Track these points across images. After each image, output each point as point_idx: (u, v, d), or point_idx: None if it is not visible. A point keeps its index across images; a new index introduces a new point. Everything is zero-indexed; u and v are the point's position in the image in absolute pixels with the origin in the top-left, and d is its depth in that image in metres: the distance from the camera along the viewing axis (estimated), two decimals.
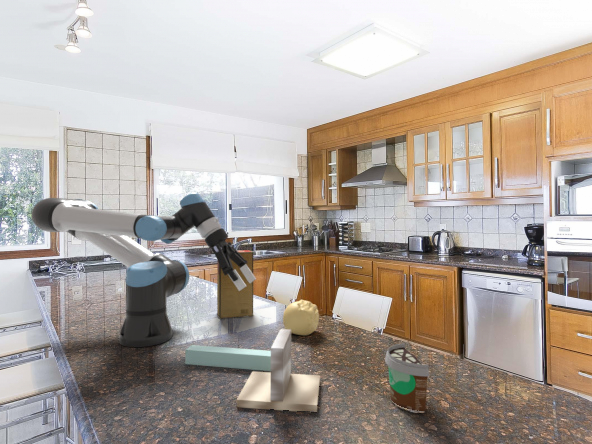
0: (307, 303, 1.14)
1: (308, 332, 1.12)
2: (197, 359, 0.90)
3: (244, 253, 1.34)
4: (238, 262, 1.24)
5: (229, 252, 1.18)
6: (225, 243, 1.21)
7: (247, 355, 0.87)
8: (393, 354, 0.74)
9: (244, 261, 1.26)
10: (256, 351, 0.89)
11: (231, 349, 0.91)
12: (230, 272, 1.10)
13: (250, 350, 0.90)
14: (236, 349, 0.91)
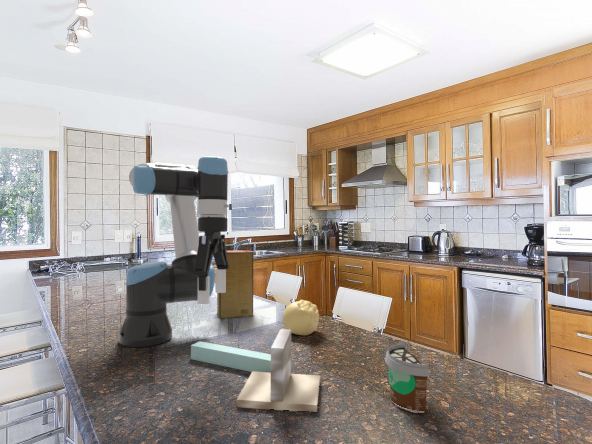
0: (307, 303, 1.14)
1: (308, 332, 1.12)
2: (200, 355, 0.92)
3: (244, 253, 1.34)
4: (218, 262, 0.97)
5: (216, 249, 0.91)
6: (218, 235, 0.93)
7: (244, 357, 0.87)
8: (393, 354, 0.74)
9: (226, 265, 0.99)
10: (254, 353, 0.88)
11: (232, 349, 0.91)
12: (201, 278, 0.83)
13: (249, 352, 0.89)
14: (236, 349, 0.91)
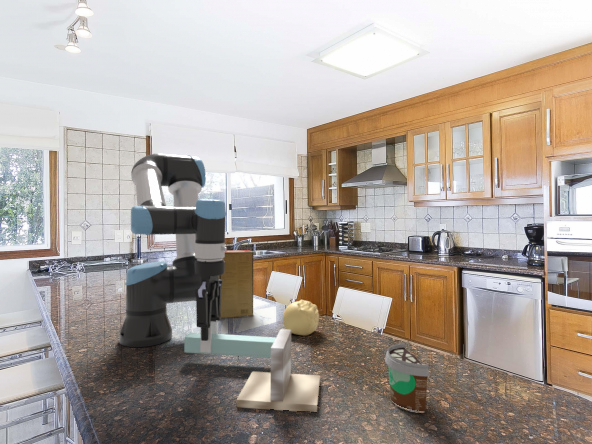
0: (307, 303, 1.14)
1: (308, 332, 1.12)
2: (196, 346, 0.90)
3: (244, 253, 1.34)
4: (211, 311, 0.93)
5: None
6: None
7: (247, 342, 0.88)
8: (393, 354, 0.74)
9: None
10: (256, 338, 0.90)
11: (230, 336, 0.91)
12: (204, 329, 0.87)
13: (249, 337, 0.90)
14: (235, 336, 0.91)
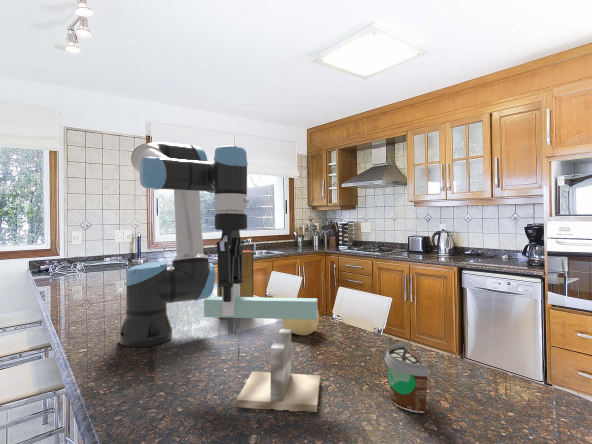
0: None
1: (308, 332, 1.12)
2: (217, 309, 0.80)
3: (244, 253, 1.34)
4: None
5: None
6: (238, 231, 0.84)
7: (274, 302, 0.79)
8: (393, 354, 0.74)
9: (240, 279, 0.85)
10: (284, 298, 0.80)
11: (255, 298, 0.82)
12: (226, 288, 0.78)
13: (276, 298, 0.81)
14: (260, 298, 0.82)
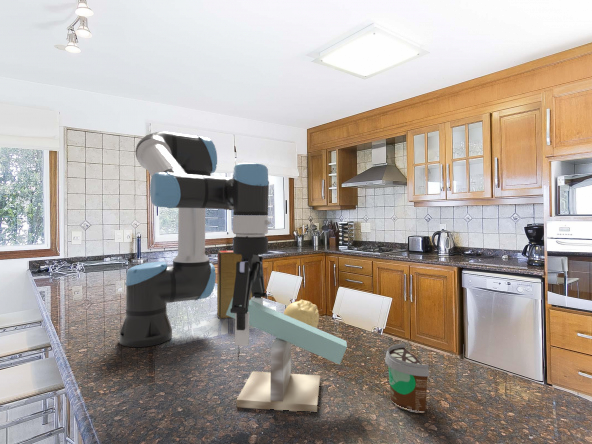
0: (307, 303, 1.14)
1: None
2: None
3: None
4: (255, 290, 0.81)
5: None
6: (257, 257, 0.77)
7: (303, 330, 0.73)
8: (393, 354, 0.74)
9: (263, 292, 0.83)
10: (313, 329, 0.74)
11: (284, 315, 0.75)
12: (240, 315, 0.68)
13: (305, 325, 0.75)
14: (289, 317, 0.76)
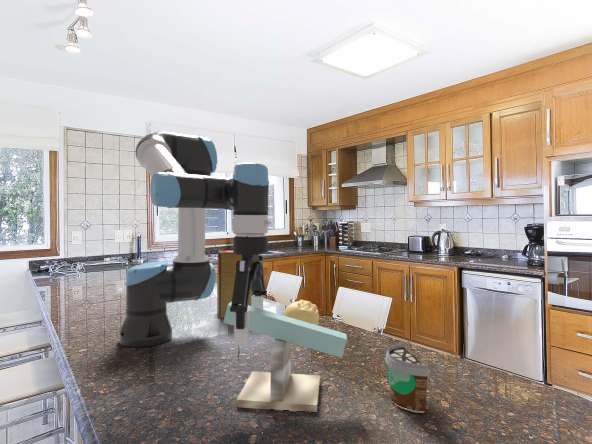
0: (307, 303, 1.14)
1: None
2: None
3: None
4: (255, 288, 0.82)
5: None
6: (257, 258, 0.77)
7: (302, 328, 0.73)
8: (393, 354, 0.74)
9: (263, 290, 0.83)
10: (312, 325, 0.75)
11: (281, 316, 0.76)
12: (240, 313, 0.67)
13: (303, 323, 0.75)
14: (286, 317, 0.76)
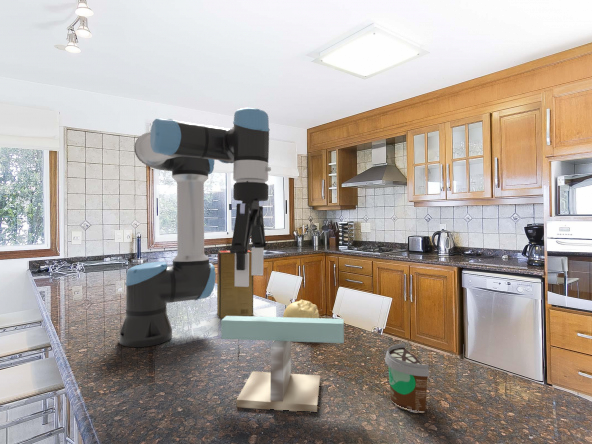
0: (307, 303, 1.14)
1: None
2: (235, 331, 0.74)
3: None
4: (255, 239, 0.82)
5: None
6: (257, 206, 0.77)
7: (298, 324, 0.73)
8: (393, 354, 0.74)
9: (263, 242, 0.83)
10: (307, 319, 0.75)
11: (276, 318, 0.76)
12: (240, 254, 0.67)
13: (299, 319, 0.75)
14: (282, 318, 0.76)
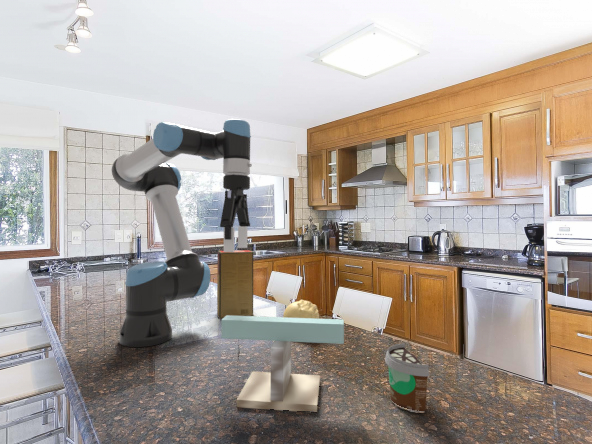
0: (307, 303, 1.14)
1: None
2: (235, 330, 0.74)
3: (244, 253, 1.34)
4: (241, 220, 1.05)
5: (239, 205, 0.99)
6: (241, 193, 1.01)
7: (298, 324, 0.73)
8: (393, 354, 0.74)
9: (247, 222, 1.07)
10: (308, 320, 0.75)
11: (276, 318, 0.76)
12: (227, 228, 0.91)
13: (299, 319, 0.75)
14: (282, 318, 0.76)
